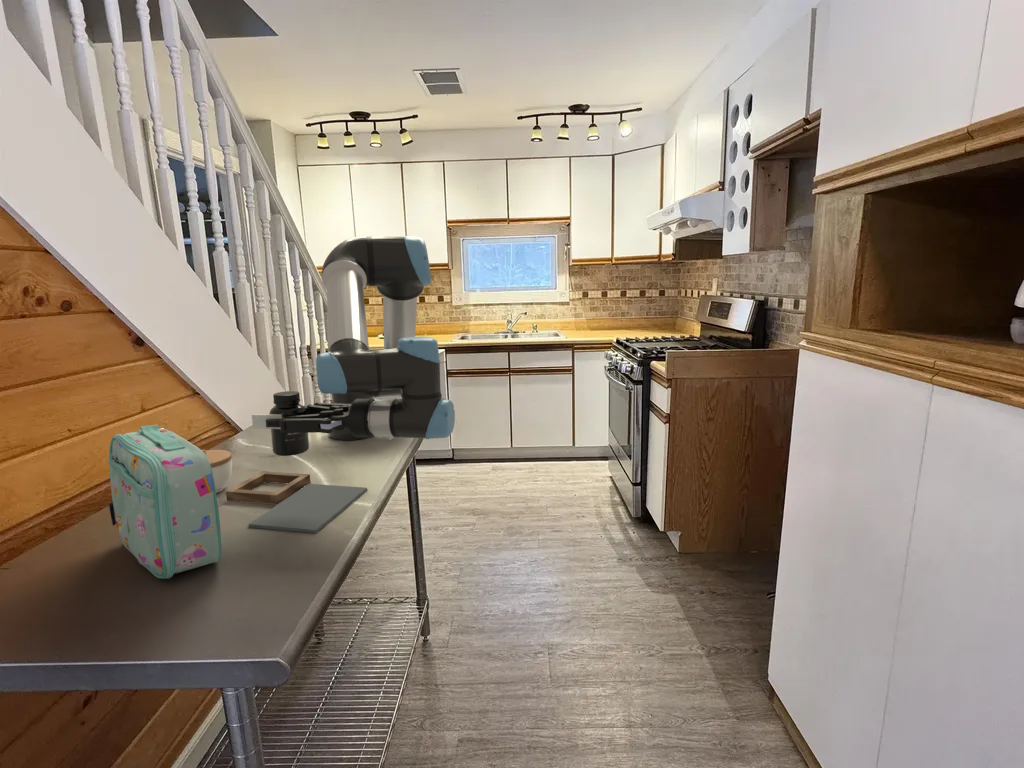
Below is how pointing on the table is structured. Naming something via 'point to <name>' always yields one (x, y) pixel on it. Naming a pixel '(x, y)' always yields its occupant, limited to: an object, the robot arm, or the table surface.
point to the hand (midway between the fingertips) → (264, 416)
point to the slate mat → (309, 508)
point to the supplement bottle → (288, 441)
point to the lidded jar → (220, 467)
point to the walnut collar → (248, 495)
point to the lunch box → (164, 501)
